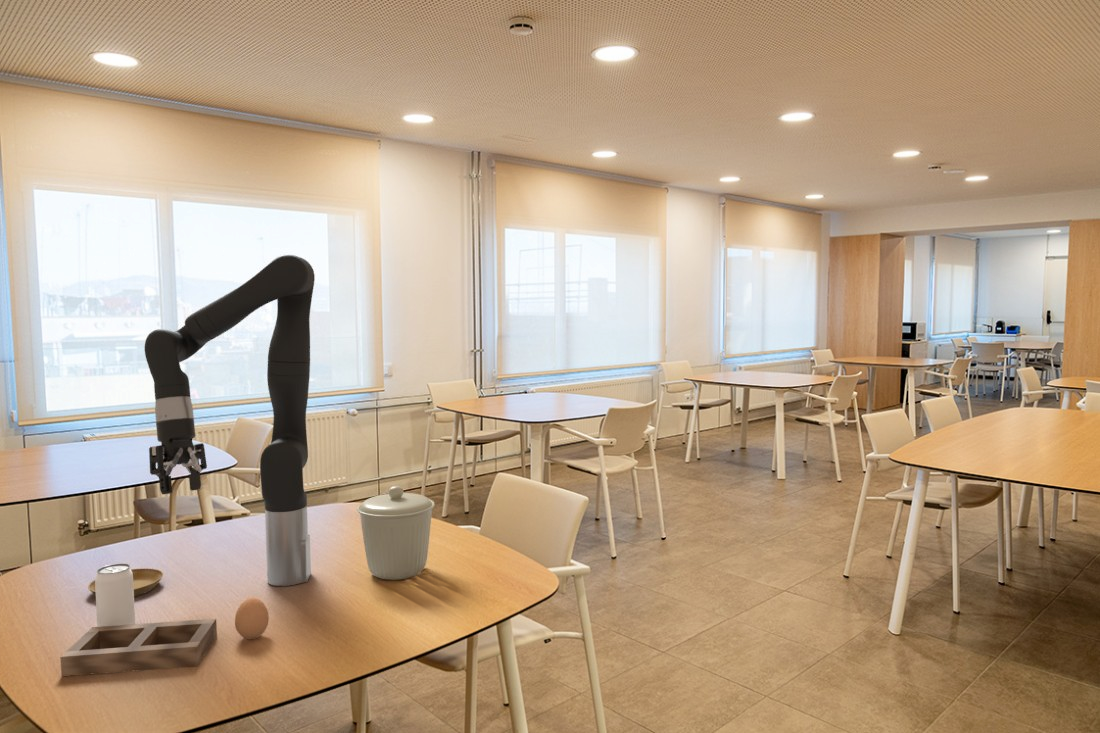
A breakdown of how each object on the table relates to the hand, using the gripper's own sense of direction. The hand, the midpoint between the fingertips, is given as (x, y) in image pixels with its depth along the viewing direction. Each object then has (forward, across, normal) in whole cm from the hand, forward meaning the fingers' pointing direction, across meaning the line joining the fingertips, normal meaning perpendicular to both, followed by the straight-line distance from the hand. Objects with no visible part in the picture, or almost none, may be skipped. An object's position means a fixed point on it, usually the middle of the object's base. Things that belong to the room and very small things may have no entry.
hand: (181, 491), depth 161 cm
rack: (+28, -23, -9) cm, 38 cm away
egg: (+30, -12, -24) cm, 40 cm away
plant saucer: (+20, +2, +19) cm, 28 cm away
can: (+25, -15, +5) cm, 29 cm away
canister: (+27, +26, -36) cm, 52 cm away
